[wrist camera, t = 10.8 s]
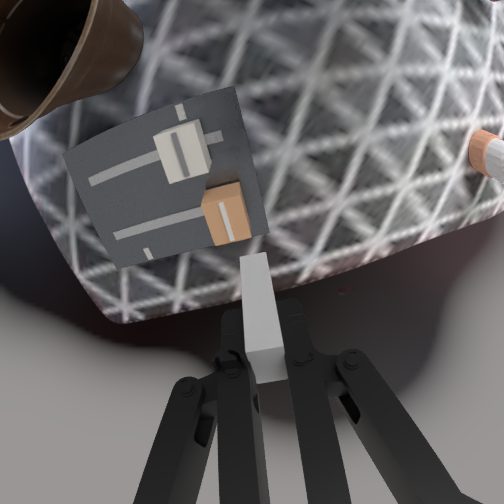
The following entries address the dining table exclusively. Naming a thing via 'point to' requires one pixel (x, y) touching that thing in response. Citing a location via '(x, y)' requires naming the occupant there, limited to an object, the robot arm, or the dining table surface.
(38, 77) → the plant pot
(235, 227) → the fader
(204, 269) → the dining table surface
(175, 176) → the fader
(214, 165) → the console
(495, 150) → the pepper shaker
